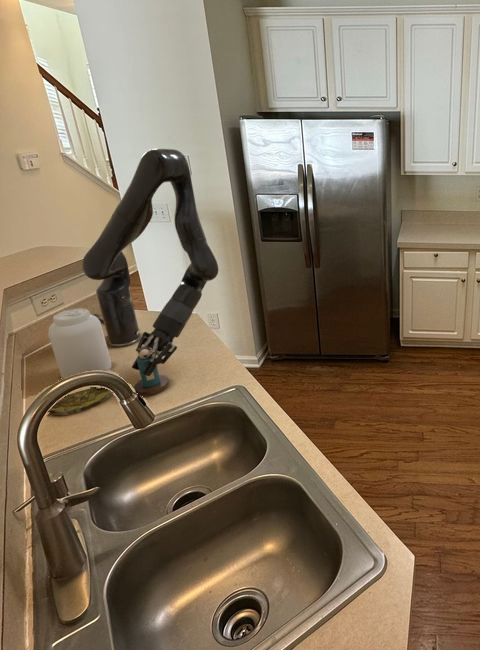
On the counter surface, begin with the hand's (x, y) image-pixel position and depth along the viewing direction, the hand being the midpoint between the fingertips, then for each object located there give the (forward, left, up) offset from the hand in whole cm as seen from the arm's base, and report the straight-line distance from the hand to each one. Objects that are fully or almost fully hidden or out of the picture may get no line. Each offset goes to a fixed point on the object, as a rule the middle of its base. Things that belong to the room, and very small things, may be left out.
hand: (140, 371), depth 120 cm
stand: (-1, +2, -7) cm, 7 cm away
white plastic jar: (-23, -9, -7) cm, 25 cm away
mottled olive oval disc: (-7, -14, -7) cm, 17 cm away
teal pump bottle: (0, +2, -5) cm, 5 cm away
